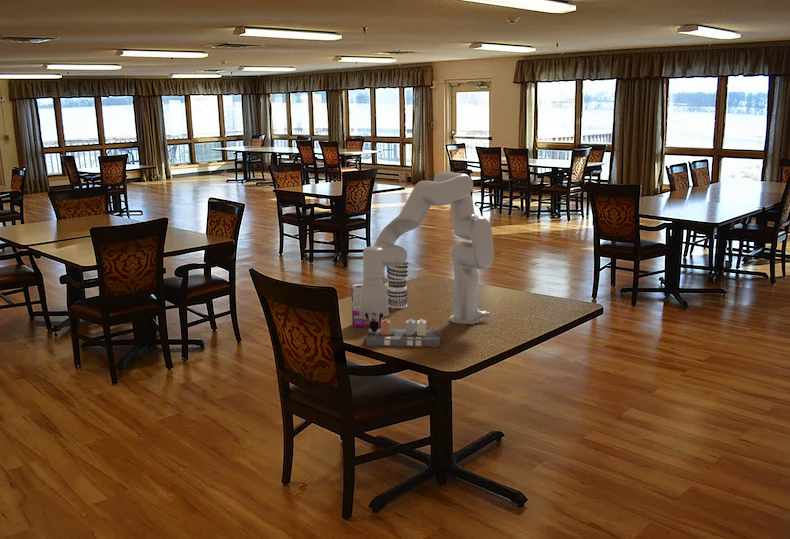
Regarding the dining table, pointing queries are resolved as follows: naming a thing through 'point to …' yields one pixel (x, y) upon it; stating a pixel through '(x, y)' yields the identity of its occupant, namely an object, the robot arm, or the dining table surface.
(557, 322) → the dining table surface
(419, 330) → the slider ivory
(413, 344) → the switch unit
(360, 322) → the candy bar box
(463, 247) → the robot arm
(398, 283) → the decorative candle
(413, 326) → the slider grey
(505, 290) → the dining table surface
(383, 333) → the slider rust
